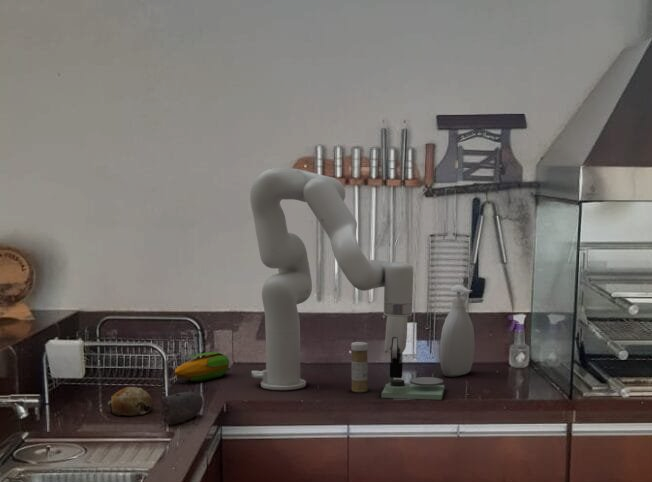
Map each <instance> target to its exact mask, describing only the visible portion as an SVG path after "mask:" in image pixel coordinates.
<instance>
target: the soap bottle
mask: <svg viewBox="0 0 652 482" xmlns="http://www.w3.org/2000/svg"><path fill="white" fill-rule="evenodd" d="M450 292H451V293H456V297H453V299H451V309H450V311H449V312H448V314H447V315H446V317H445V320H444V322H443V326H442V329H441V334H440V342H439V363H440V369H441V371H442V374H443V375H444V376H445V377H449V378H454V377H460V376H466V375H467V374H469V373H470V372H471V370H472V367H473V363H474V358H475V331H474V330H475V329H474V324H473V322H472V319H471V317H470V315H469V313H468V312H467V310H466V308H465V307H466V305H465V302H466V300H465V299H464V298H463V297H461V293H467V294H470V293H473V289H468V288H467V287H465V286H463V285H462V284H456V285H454V286H452V287H451V288H450Z"/></svg>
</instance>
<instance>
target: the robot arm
mask: <svg viewBox="0 0 652 482" xmlns="http://www.w3.org/2000/svg"><path fill="white" fill-rule="evenodd" d="M345 199H346V188H345V186H344V185H343V183H342V182H341V181H340V180H339V179H338V178H336V177H333V176H327V175H323V174H320V173H319V174H318V173H314V172H312V171H307V170H303V169H300V168H290V167H272V168H269V169H266V170H264V171H262V172H260V173H259V175H258V176H257V177H256V178H255V179H254V181H253V182H252V185H251V187H250V192H249V202H250V208H251V212H252V216H253V221H254V228H255V235H256V240H257V245H258V253H259V257H260V260H261V262H262V264H263V265H264V266H266V267H267V268H269V269H277V270H278V273H274V274H272V275H271V276H269V277H268V278H267V279H266V280H265V281H264V283H263V285H262V288H261V299H262V305H263V311H264V321H265V323H264V328H265V329H264V330H265V369H262V370H251V375H250V376H251V378H253V379H261V382H260V387H261V388H262V389H266V390H270V391H294V390H299V389H304V388H305V387H306V386H307V381H306V380H305V379H303V378H301V321H300V315H299V310H298V306H297V305H300V304H303V303H305V302H307V300H308V299H309V298H310V297H311V294H312V291H313V282H312V276H311V275H312V274H311V269H310V263H309V258H308V257H309V256H308V252H307V251H308V250H307V248H306V245H305V243H304V241H303V240H302V239H301V237H300V236H298V234H295V233H292V232H289V231H288V226H287V219H286V215H285V212H284V210H283V207H282V206H281V201H282V200H294V201H299V202H302V203H303V202H304V203H306V204H307V205H308V207H309V208H310V210H311V211H312V213H313V215H314V216H315V217H316V219H317V221H318V222H319V224H320V225H321V227H322V228H323V230H324V232H325V233H326V235H327V237H328V239H329V242H330V247H331V249H332V252H333V255H334V258H335V261H336V263H337V265H338V266H339V268H340V270H341V271H342V273H343V274H344V277H346V279H347V280H348V282H349V283H350V284H351V285H352V286H353V287H354V288H355V289H356V290H359V291H363V292H365V291H366V292H367V291H371V290H373V289H379V288H383V315H384V316H386V323H385V335H384V336H385V337H384V338H385V339H384V340H385V341H384V353H385V354H387V353H389V352H390V362H389V378H391V379H402V377H403V366H404V362H403V353H404V351H405V350H406V348H407V339H408V317H412V316H413V295H414V293H413V292H414V266H413V265H412V264H411V263H409V262H405V261H404V262H402V261H401V262H400V261H393V262H390V261H385V260H381V259H370V260H368V258H367V257H366V255H365V254H364V252H363V251H362V248H361V247H360V245H359V243H358V240H357V227H358V222H357V219H356V217H354V215H353V213H352V212H351V210H350V209H349V207H348V206H347V204H346V203H345Z"/></svg>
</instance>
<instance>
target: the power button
mask: <svg viewBox="0 0 652 482" xmlns="http://www.w3.org/2000/svg"><path fill="white" fill-rule="evenodd" d="M390 383H391V386H394V387H401V386H404V383H405V380H404V379H402V378H393V379H391V380H390Z"/></svg>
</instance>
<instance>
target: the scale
mask: <svg viewBox="0 0 652 482" xmlns="http://www.w3.org/2000/svg"><path fill="white" fill-rule="evenodd" d="M444 392H445V384H441V385H435V386H421V385H415V384H412V383H407V382H404V386H401V387H394V386H391V382H388V383H385V385H384V388H383V390H382V391H381V393H380V394H381V397H380V398H382V399H383V398H384V399H409V400H413V399H415V400H436V401H437V400H438V401H439V400H440V401H441V400H442V399H443V397H444Z"/></svg>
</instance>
